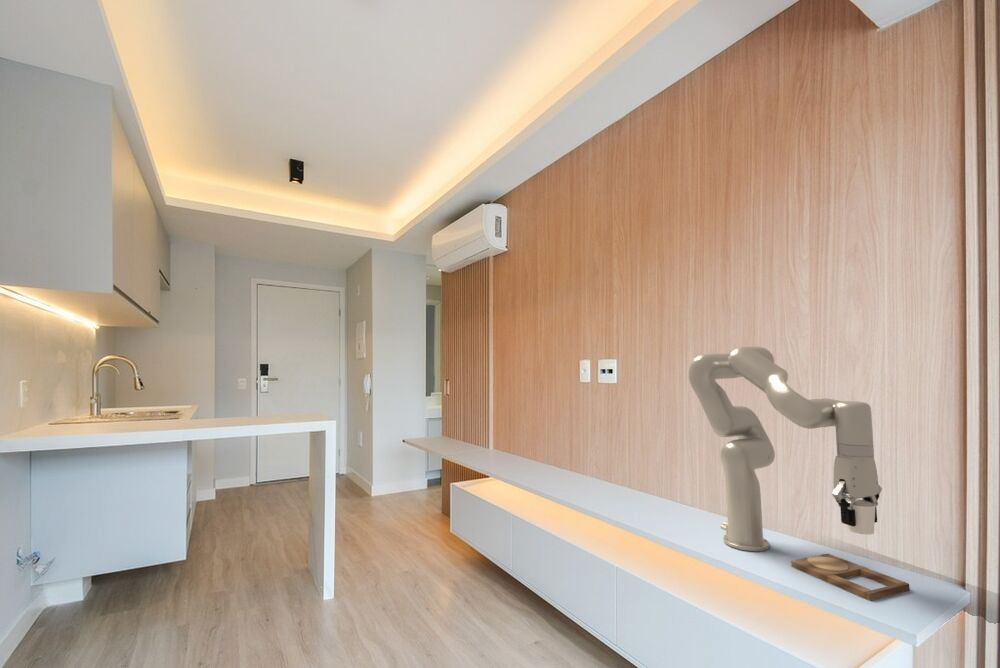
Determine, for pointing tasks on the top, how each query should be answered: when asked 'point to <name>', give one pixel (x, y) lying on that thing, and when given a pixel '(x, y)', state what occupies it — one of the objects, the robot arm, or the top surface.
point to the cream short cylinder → (863, 517)
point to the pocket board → (849, 575)
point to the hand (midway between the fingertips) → (859, 522)
